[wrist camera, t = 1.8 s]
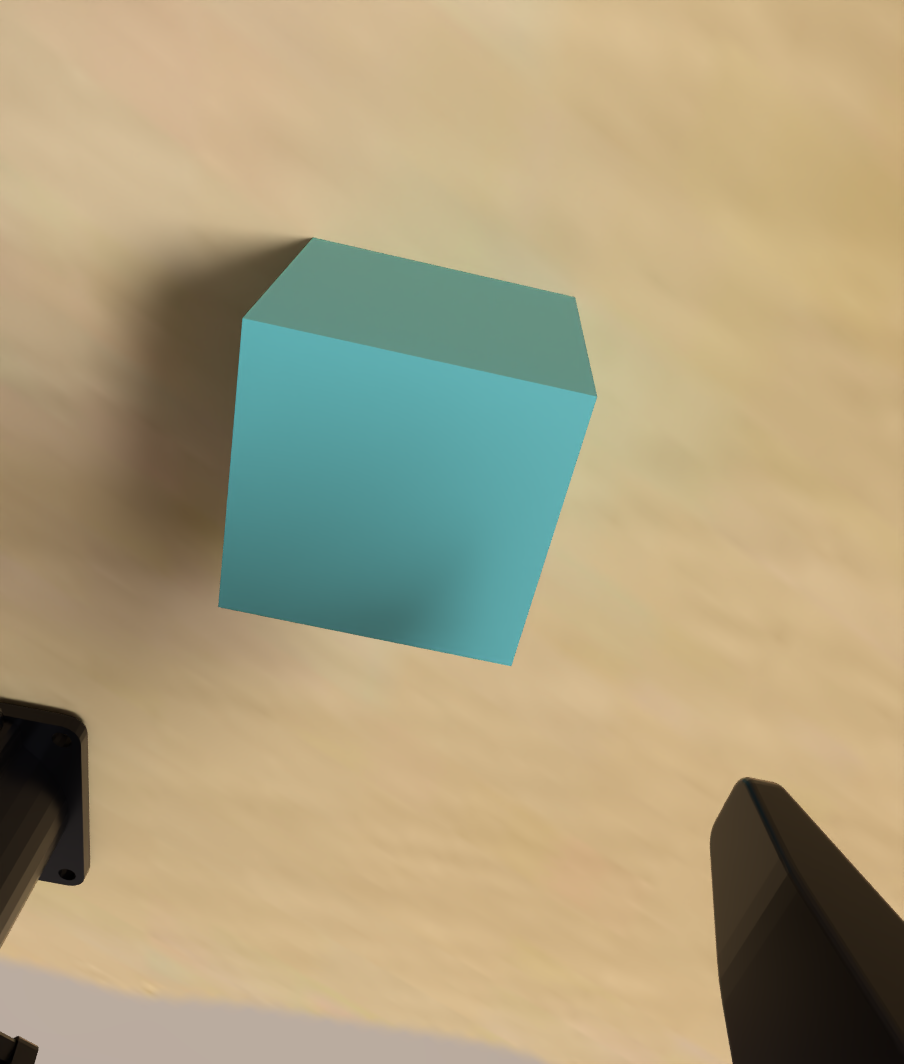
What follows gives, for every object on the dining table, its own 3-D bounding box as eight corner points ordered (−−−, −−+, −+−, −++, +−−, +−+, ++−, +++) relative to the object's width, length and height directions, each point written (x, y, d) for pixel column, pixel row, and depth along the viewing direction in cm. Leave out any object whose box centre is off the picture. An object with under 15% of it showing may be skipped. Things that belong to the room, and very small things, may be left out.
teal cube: (511, 518, 19) (511, 665, 15) (285, 470, 19) (217, 606, 14) (574, 296, 16) (597, 396, 12) (313, 236, 16) (243, 317, 12)
